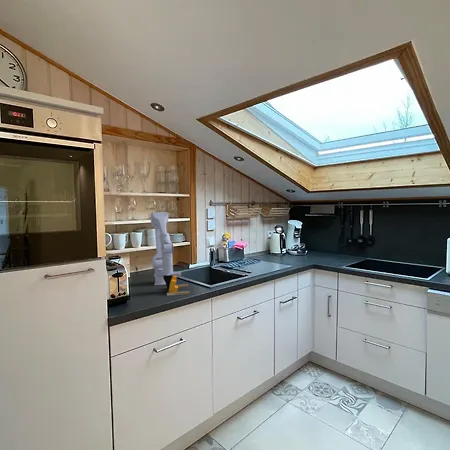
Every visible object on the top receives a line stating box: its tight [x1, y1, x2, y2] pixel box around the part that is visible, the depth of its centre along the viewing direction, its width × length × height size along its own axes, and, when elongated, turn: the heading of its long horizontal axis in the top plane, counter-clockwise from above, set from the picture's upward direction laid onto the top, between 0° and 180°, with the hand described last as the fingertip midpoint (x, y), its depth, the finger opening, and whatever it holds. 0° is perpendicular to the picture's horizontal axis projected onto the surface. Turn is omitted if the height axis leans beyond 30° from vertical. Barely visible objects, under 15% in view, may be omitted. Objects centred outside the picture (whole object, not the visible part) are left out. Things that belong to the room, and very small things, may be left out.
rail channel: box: [166, 283, 190, 296], centre depth 171 cm, size 16×12×1 cm
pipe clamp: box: [168, 276, 179, 293], centre depth 171 cm, size 12×4×6 cm, turn 7°
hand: (168, 288), depth 170 cm, fingers closed
